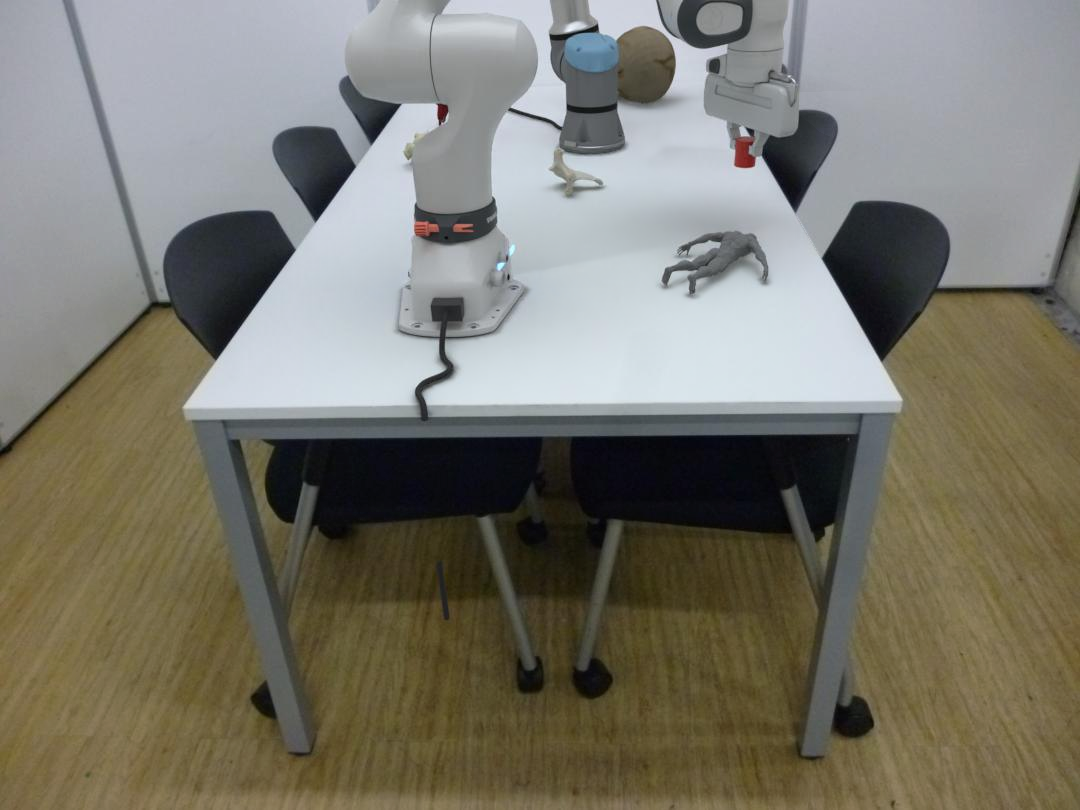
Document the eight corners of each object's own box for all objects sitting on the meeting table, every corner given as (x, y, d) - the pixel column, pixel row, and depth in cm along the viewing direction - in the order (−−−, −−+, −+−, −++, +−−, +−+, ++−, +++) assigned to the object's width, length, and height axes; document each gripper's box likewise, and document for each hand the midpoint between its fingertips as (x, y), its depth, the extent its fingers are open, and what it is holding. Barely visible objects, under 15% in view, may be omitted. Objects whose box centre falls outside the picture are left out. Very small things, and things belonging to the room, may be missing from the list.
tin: (741, 161, 145) (744, 135, 143) (759, 164, 143) (761, 138, 141) (729, 165, 143) (732, 139, 141) (747, 169, 141) (750, 142, 139)
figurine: (723, 310, 121) (798, 261, 131) (724, 284, 118) (801, 236, 129) (634, 279, 131) (711, 236, 142) (634, 254, 129) (712, 213, 139)
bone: (576, 172, 159) (561, 138, 165) (554, 195, 163) (539, 162, 168) (611, 192, 166) (595, 159, 172) (589, 214, 170) (574, 181, 175)
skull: (639, 73, 244) (664, 1, 222) (666, 131, 237) (695, 63, 214) (589, 79, 240) (609, 6, 218) (614, 138, 233) (638, 70, 210)
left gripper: (814, 74, 128) (802, 164, 135) (729, 55, 144) (722, 136, 151) (782, 79, 126) (772, 170, 133) (699, 59, 141) (694, 142, 149)
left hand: (745, 152), depth 142 cm, fingers closed on tin, 3 cm apart
